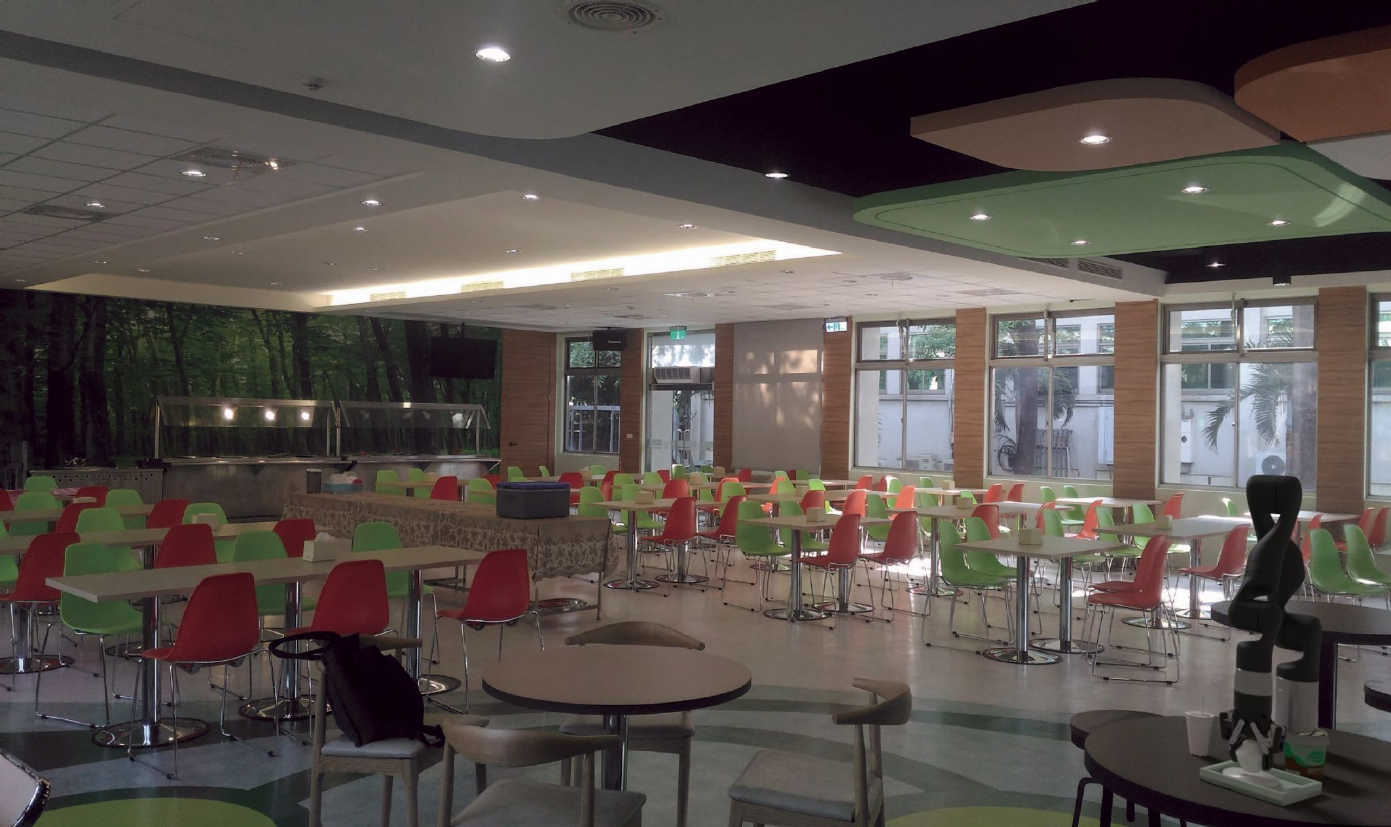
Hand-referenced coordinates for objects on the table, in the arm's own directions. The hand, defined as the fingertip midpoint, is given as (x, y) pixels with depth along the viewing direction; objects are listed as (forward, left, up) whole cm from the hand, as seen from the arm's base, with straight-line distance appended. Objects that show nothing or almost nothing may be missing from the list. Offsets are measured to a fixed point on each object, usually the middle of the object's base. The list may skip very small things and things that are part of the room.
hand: (1251, 765), depth 224 cm
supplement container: (-19, -12, -4) cm, 23 cm away
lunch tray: (0, +2, -4) cm, 4 cm away
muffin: (0, 0, -1) cm, 1 cm away
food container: (-18, +4, -4) cm, 19 cm away
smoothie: (-10, -18, -4) cm, 21 cm away
